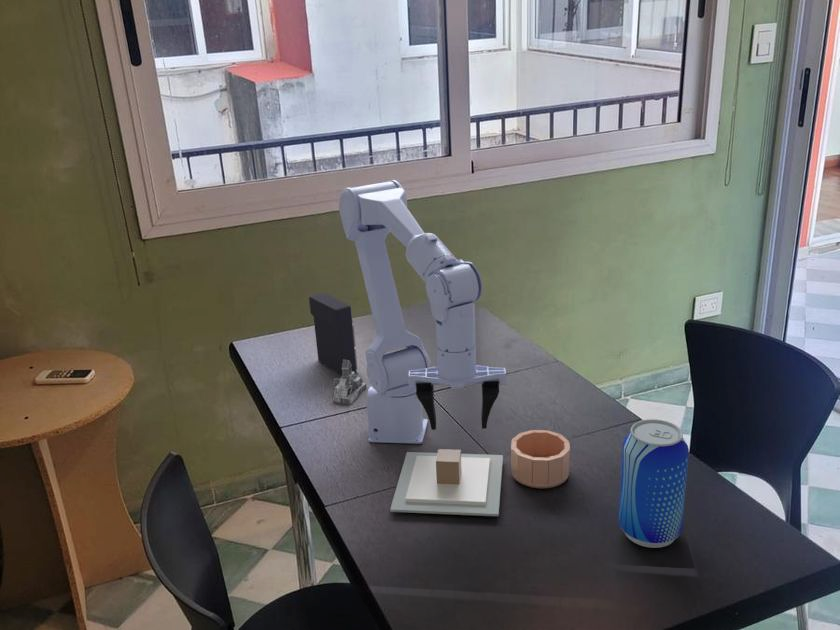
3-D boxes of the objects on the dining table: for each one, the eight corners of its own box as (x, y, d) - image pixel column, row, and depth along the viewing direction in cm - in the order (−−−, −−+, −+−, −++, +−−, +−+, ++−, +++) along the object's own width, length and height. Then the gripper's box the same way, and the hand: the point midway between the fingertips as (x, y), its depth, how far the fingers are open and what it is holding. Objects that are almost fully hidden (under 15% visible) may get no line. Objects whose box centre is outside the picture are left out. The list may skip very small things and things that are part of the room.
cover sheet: (405, 501, 117) (403, 475, 115) (417, 458, 128) (415, 434, 126) (485, 505, 115) (484, 478, 113) (490, 461, 126) (489, 436, 124)
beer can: (644, 558, 103) (651, 454, 97) (606, 523, 110) (610, 424, 104) (694, 540, 106) (704, 438, 100) (654, 507, 113) (661, 410, 107)
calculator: (360, 372, 160) (354, 304, 155) (342, 378, 158) (335, 310, 152) (332, 356, 169) (326, 291, 163) (315, 362, 166) (308, 296, 161)
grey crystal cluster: (333, 379, 159) (329, 345, 156) (371, 385, 155) (368, 350, 153) (310, 399, 151) (306, 363, 148) (350, 405, 148) (347, 369, 145)
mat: (390, 511, 115) (390, 509, 115) (407, 454, 130) (406, 451, 130) (498, 516, 113) (498, 514, 113) (503, 457, 128) (503, 455, 127)
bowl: (510, 487, 120) (510, 459, 118) (512, 455, 128) (512, 429, 126) (570, 489, 118) (570, 461, 116) (567, 457, 126) (568, 430, 125)
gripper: (405, 357, 111) (410, 440, 116) (507, 354, 110) (508, 438, 115) (407, 338, 117) (412, 417, 122) (504, 335, 116) (505, 415, 121)
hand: (458, 425), depth 119 cm, fingers open, 7 cm apart
